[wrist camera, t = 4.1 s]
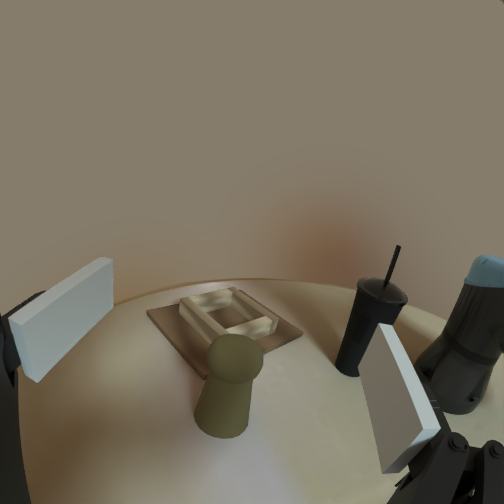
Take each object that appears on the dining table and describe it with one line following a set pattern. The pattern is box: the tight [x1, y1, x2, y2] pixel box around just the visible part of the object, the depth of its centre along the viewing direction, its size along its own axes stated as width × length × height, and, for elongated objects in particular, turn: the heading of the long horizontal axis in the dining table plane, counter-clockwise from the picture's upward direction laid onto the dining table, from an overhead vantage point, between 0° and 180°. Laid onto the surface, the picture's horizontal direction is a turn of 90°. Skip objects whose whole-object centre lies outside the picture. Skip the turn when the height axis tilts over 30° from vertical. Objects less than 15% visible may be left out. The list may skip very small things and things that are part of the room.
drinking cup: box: [335, 245, 408, 377], centre depth 38 cm, size 8×8×20 cm
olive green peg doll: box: [194, 334, 263, 439], centre depth 27 cm, size 6×6×11 cm
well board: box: [147, 287, 303, 379], centre depth 46 cm, size 20×16×4 cm
